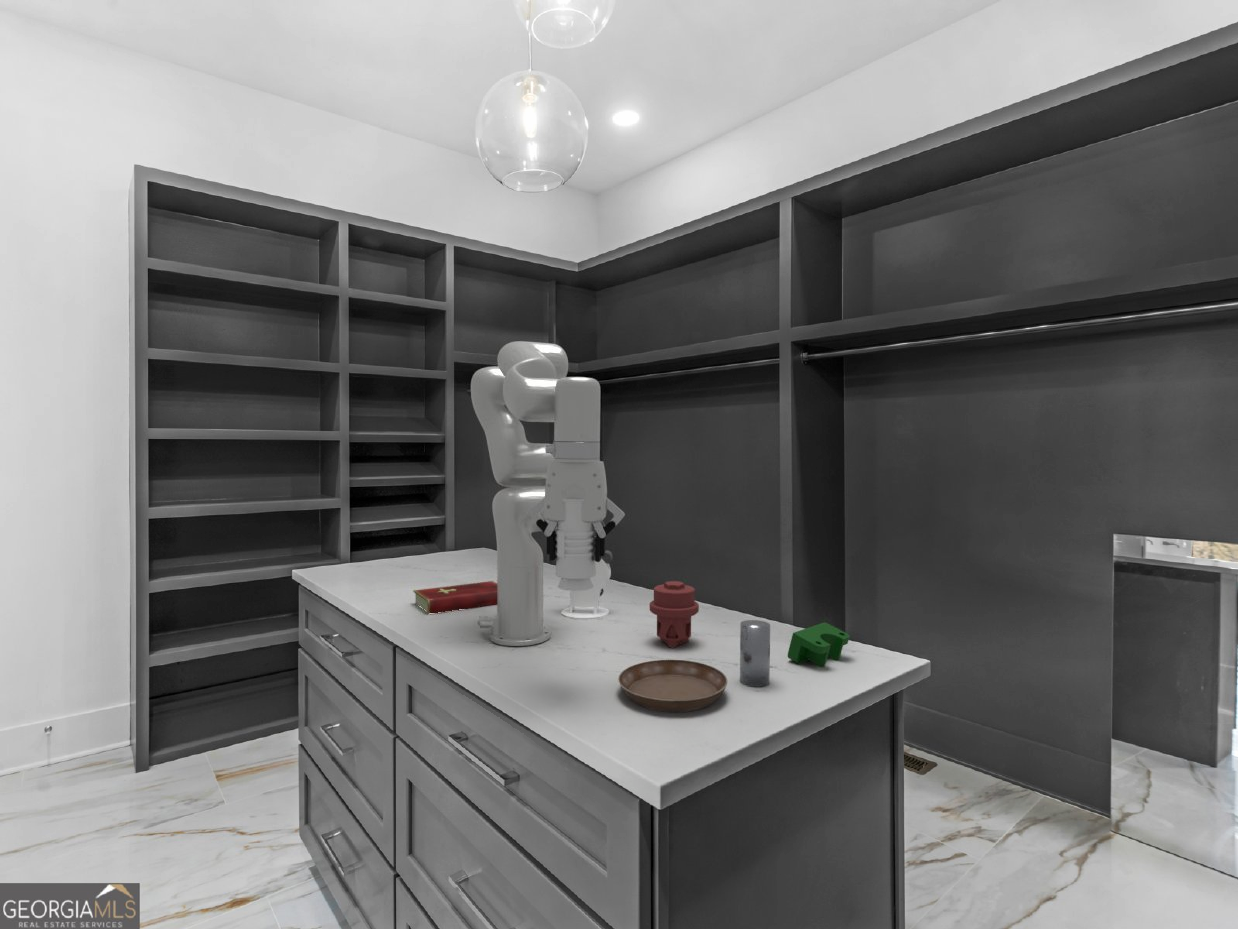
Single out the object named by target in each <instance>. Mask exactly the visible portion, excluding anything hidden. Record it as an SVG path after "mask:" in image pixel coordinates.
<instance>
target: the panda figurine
mask: <svg viewBox="0 0 1238 929" xmlns="http://www.w3.org/2000/svg"><path fill="white" fill-rule="evenodd" d="M613 558H614V556H613V552H612V551H610V550H608V549H607V550H606V549H605V556H602V557H601V560H600V562H596V561H595V565H596V575H595V576H594V577H591V578H590V579H591V582H592V584H593V588H591V589H588V590H581V591H569V593H570V594H569V596H570V597H569V599H570V600H569V607H566V608H564V609H562V611H561V616H563V617H565V616H566V617H565V618H568V617H569V618H568V619H572V618H573V619H572V620H596V619H595V618H597V619H601V618H600V617H602V616H605V617H607V616H609V614H608V613H610V610H609V609H607V608H606V607H602V606H600V597H601V596H602V595H603V594H604V588H605V586H606V585H607V584H608V582H609V580H610V578H611V576H612V571H611V565H610V562H611V561H612V560H613ZM606 615H607V616H606ZM602 618H603V617H602Z"/></svg>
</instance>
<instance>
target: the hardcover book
mask: <svg viewBox="0 0 1238 929" xmlns="http://www.w3.org/2000/svg"><path fill="white" fill-rule="evenodd" d="M412 591H413V593H414V594H415V597H414V598H415V605H416V604H417V605H419V606H421V607H422V608H423V609H425V610H426V611H427V612H426V613H437V614H439V613H438V612H444V613H446V612H445V611H451V612H453V611H452V610H458V611H460V610H459V609H465V610H470V609H471V610H473V609H479V608H485V607H491V606H492V607H493V606H497V582H495V581H494V580H489V581H482V582H471V583H464V584H455V585H448V586H440V587H431V588H424V589H423V588H422V589H414V590H412ZM417 605H416V606H417ZM423 609H422V610H423Z"/></svg>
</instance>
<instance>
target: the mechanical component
mask: <svg viewBox="0 0 1238 929" xmlns="http://www.w3.org/2000/svg"><path fill="white" fill-rule="evenodd" d="M695 594H696V590H695V587H693V586H691V585H687V584H684V582H683V581H677V580H676V581H675V580H673V581H665V582H664V584H659V585H656V586H654V587H653V600H651V602H649V611H650V612H651V613H652V615H656V636H657V637H658V638H659V639H660V641H661V640H662V641H661V642H664V643H666V644H667V646H668V648H670V647H675V648H676V647H677V646H679V645H681V644H680V643H682V644H686V643H685V642H687V643H689V641H690V638H691V637H692V616H695V615H697V614H699V612H700V611H699V609H700V608H699V606H700V604H699V603H698V602H697V601H695V600H696V596H695Z"/></svg>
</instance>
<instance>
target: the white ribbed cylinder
mask: <svg viewBox="0 0 1238 929" xmlns="http://www.w3.org/2000/svg"><path fill="white" fill-rule="evenodd" d="M562 501H564V502H566V504H565V505H566V521H563V522H558V523H557V529H556V530H555V533H556V534H557V536H556V537H555V540H556V541H557V543H556V544H555V547H556V548H557V550H556V551H555V554H556V555H557V558H556V564H555V576H556V577H558V578H560V581H559V582H558V585H557V587H558V589H560V590H564V591H569V592H570V591H581V590H588V589H591V588H593V584H592V582H591V579H590V578H591V577H594V576H595V575H596V565H595V538H596V537H597V534H598V533H597V531H596V529H595V527H594V525H593V523H585V522H583V521H582V520H581V506H582V505H583V504H582V505H581V503H582V502H585V499H568V498H562Z"/></svg>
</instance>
